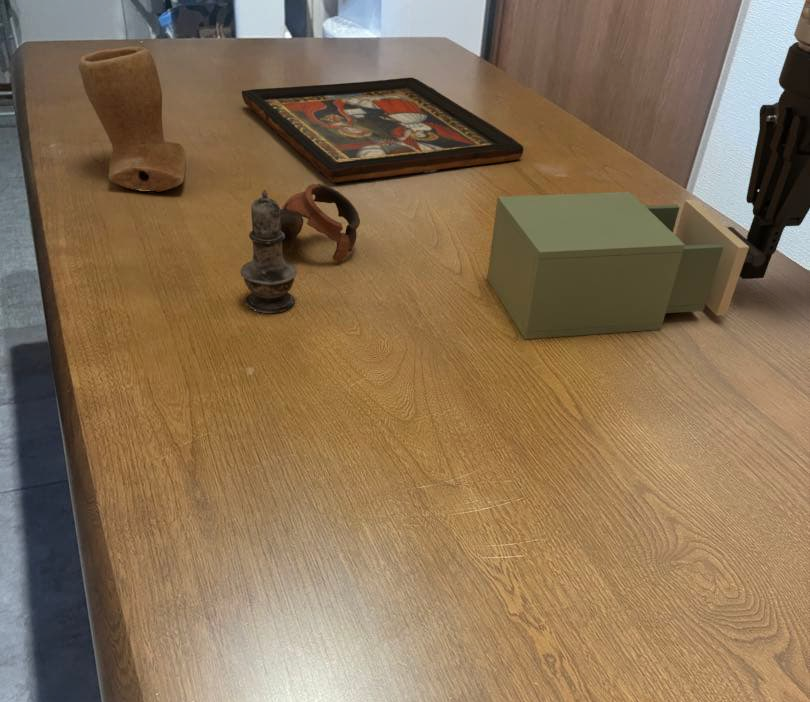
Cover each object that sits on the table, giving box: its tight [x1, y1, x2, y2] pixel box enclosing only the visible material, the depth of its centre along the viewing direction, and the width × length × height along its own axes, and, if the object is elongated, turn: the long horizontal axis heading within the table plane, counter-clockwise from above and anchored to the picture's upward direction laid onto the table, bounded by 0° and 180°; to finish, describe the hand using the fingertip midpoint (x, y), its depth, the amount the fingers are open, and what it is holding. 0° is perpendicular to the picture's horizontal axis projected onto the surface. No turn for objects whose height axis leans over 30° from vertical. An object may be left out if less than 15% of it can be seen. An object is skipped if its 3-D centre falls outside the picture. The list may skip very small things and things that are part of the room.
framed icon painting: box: [241, 77, 524, 183], centre depth 133 cm, size 38×35×3 cm
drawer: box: [644, 199, 766, 316], centre depth 96 cm, size 19×12×8 cm, turn 103°
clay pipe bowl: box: [78, 46, 187, 192], centre depth 112 cm, size 15×12×15 cm
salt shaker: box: [239, 189, 298, 314], centre depth 90 cm, size 6×6×12 cm
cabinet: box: [486, 191, 685, 340], centre depth 94 cm, size 16×14×10 cm
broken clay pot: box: [280, 183, 361, 263], centre depth 101 cm, size 12×10×8 cm
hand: (749, 275), depth 100 cm, fingers closed
